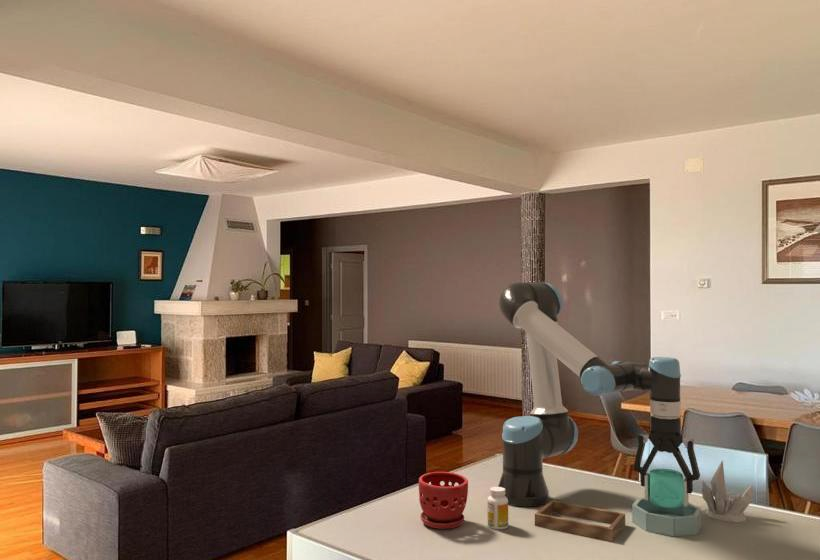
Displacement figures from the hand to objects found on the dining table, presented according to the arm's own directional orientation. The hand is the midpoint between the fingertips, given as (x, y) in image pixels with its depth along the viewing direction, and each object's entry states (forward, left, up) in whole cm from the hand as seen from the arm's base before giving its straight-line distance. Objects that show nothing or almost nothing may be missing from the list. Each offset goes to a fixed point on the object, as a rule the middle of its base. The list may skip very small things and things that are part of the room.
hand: (666, 501), depth 166 cm
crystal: (+13, +16, -6) cm, 22 cm away
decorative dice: (0, 0, -1) cm, 1 cm away
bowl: (0, 0, -6) cm, 6 cm away
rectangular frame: (-19, -13, -6) cm, 24 cm away
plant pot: (-50, -31, -6) cm, 59 cm away
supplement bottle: (-37, -25, -6) cm, 45 cm away
